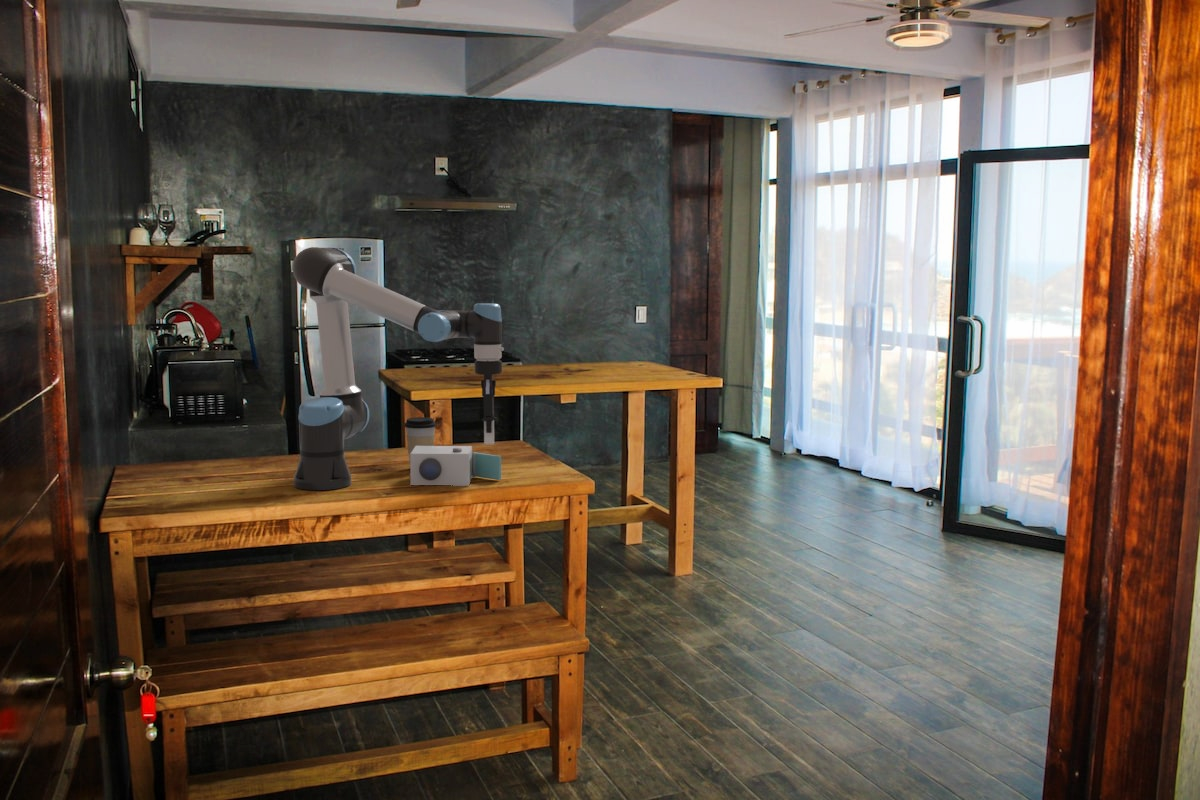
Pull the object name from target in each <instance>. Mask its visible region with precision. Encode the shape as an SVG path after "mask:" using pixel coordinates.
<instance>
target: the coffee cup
mask: <svg viewBox="0 0 1200 800" xmlns="http://www.w3.org/2000/svg"><path fill="white" fill-rule="evenodd" d="M403 427H405V431H406V435H405V437H406V444H407V446H406V447H407V453H408V457H409V460H410V453H411V452H412V450H413V449H414V448H415V446H435V444H434V443H435V430H436V427H437V423H436V422H435V420H434V418H432V417H428V416H427V417H425V416H423V417H422V416H421V417H419V416H418V417H409V418H407V419H406V422H404V425H403Z"/></svg>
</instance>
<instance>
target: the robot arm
mask: <svg viewBox="0 0 1200 800" xmlns="http://www.w3.org/2000/svg"><path fill="white" fill-rule="evenodd" d="M292 274H293V276H294V279H295V280H296V281H297V283H298V284H299V285H300V286H301V287H303V288H305V289H307V290H309V297H310V299H311V300H312V301H313V302H315V304H316V316H317V325H318V326H317V327H318V333H319V334H318V335H319V347H320V357H321V366H322V374H323V375H322V376H323V386H324V387H323V389H322V390H321V391H320V392H319V397H316V398H311V399H310V398H309V399H307V400H305V401H303V402H301V404H300V405H299V408H298V415H297V416H298V417H297V419H298V430H299V431H298V433H299V434H298V435H299V460H298V464H297V467H296V470H295V473H294V476H293V487H295V488H296V489H298V490H299V489H300V490H306V491H327V490H328V491H329V490H338V489H342V488H346V487H349V486H350V485H351V484H352V476H351V471H350V469H349V466H348V464H347V460H346V458H345V440H347V439H351V438H354V437H356V436H357V435H359V434H360V433H361V432H363V431H364V430H365V428H366V427H367V425H368V423H369V421H370V408H369V405H368V404H367V403H366V402H365V401H364V399H363V395H362V389H361V388H359V387H358V385H356V379H355V378H356V377H355V370H354V368H355V367H354V357H353V356H354V355H353V346H352V334H351V325H350V316H349V306H348V305H349V304H352V305H354V306H356V307H359V308H361V309H363V310H365V311H367V312H369V313H372V314H374V315H377V316H378V317H381V318H383V319H385V320H388V321H390V322H393V323H395V324H397V325H398V326H401V327H404V328H405V329H408V330H410V331H412V332H415V333H417V334H419V335H420V336H421V337H422V339H424V340H425V341H428V342H432V343H433V342H434V343H439V342H442V341H446V340H450V339H456V338H457V339H458V338H459V339H461V338H465V339H468V338H469V339H473V340H474V341H473V342H474V344H473V349H474V350H473V351H474V352H473V355H474V359H475V361H474V373H475V374H476V375H480V376H481V375H483V379H481V381H480V387H481V396H482V397H483V398H482V399H483V401H482V402H483V418H481V422H483V443H484V445H495V421H496V420H497V416H495V403H494V402H495V395H496V385H497V380H496V379H494V375H500V374H502V373H503V361H502V360H501V359H502V357H503V355H502V352H503V351H505V348H504V347H503V346H502V341H503V340H502V334H503V333H502V329H503V327H502V324H503V323H502V322H503V319H502V309H501V308H502V307H501V305H500V304H499V303H488V302H487V303H475V304H474V305H473V309H472V310H450V309H441V310H437V309H434V308H432V307H430V306H427V305H425V304H424V303H423V304H422V303H421V302H418V301H416V300H414V299H412V298H409V297H408V296H405V295H402V294H400V293H398V292H396V291H393V290H391V289H389V288H386V287H384V286H383V285H380V284H378V283H375V282H373V281H371V280H368V279H366V278H364V277H362V276H360V275H358V274H357V266H356V264H355V261H354V259H353V258H352V256H351V255H350V254H349V253H348V252H346V251H345V250H342V249H339V248H335V247H317V246H315V247H314V246H313V247H312V246H311V247H307V248H305V249H302V250H301V251H300V252H299V253H297V255H296V256H295V257H294V259H293V262H292ZM348 303H349V304H348Z"/></svg>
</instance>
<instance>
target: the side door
mask: <svg viewBox="0 0 1200 800" xmlns="http://www.w3.org/2000/svg"><path fill="white" fill-rule="evenodd" d="M476 477H477V478H483V479H490V480H495V481H497V480H498V481H501V480H502V456H501V455H498V454H497V455H496V454H489V453H481V452H476V451H472V478H476Z"/></svg>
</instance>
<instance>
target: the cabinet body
mask: <svg viewBox="0 0 1200 800" xmlns="http://www.w3.org/2000/svg"><path fill="white" fill-rule="evenodd" d="M472 452H473V446H472V445H434V446H415V448H414V449H413V450H412V452H411V453H410V459H409V465H410V470H409V471H410V473H409V474H410V486H411V485H451V486H450V487H469V486H470V485H469V484H470V483H471V480H472V478H473V477H472ZM452 485H453V486H452Z"/></svg>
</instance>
